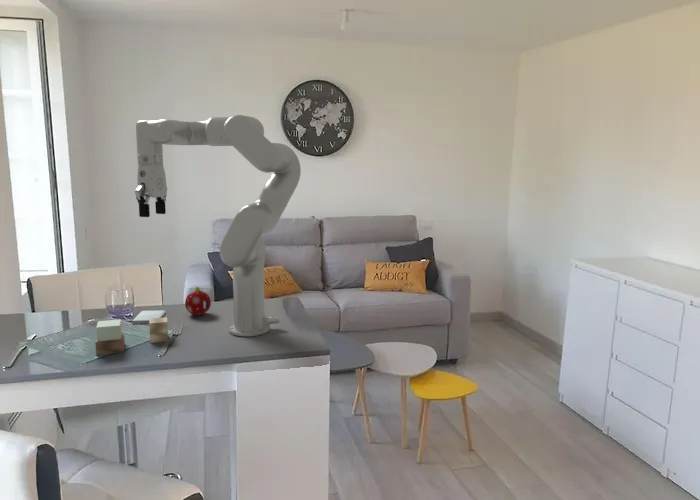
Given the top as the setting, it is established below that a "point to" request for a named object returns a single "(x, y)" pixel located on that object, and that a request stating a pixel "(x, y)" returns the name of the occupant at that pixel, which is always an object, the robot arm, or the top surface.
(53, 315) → the top surface
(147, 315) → the hard drive
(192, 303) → the christmas ornament
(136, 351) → the top surface
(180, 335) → the top surface
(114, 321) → the tower top
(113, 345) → the tower bottom
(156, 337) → the oak block
